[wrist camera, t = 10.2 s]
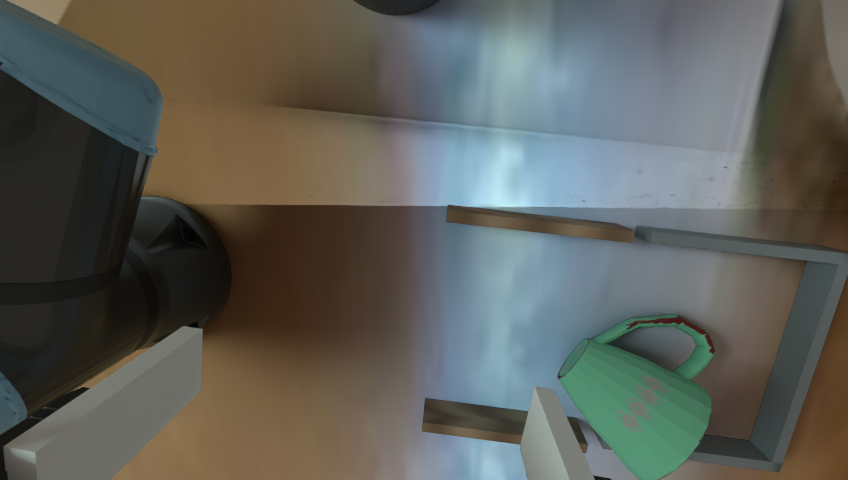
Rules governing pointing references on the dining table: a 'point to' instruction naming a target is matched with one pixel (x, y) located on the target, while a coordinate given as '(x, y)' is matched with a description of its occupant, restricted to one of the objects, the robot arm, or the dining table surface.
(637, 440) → the mug
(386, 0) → the vase
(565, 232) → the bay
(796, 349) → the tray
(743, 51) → the dining table surface
